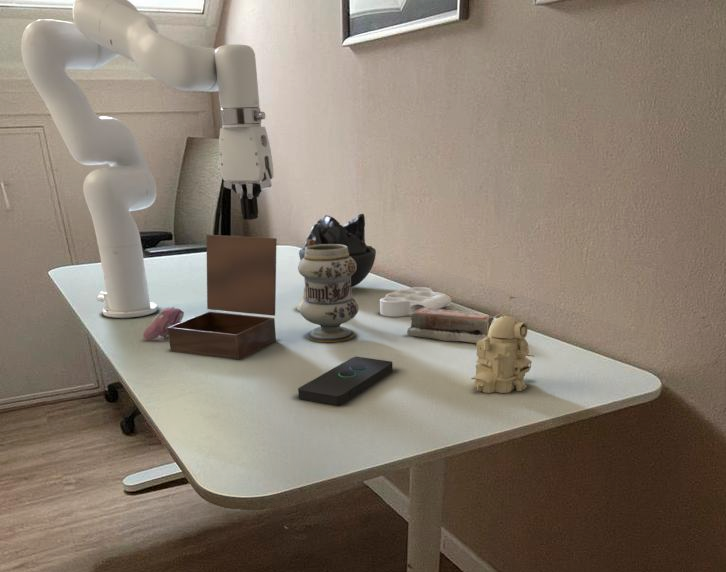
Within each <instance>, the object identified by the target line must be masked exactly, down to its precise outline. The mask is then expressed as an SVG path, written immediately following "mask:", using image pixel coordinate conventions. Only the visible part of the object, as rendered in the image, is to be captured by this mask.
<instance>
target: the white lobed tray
mask: <svg viewBox="0 0 726 572" xmlns="http://www.w3.org/2000/svg"><path fill="white" fill-rule="evenodd" d="M451 304H452V298H451V297H450V296H449V295H448V294H446V293H443V292H441V291H440V292H438V291H433V288H430V287H427V286H413V287H409V288H404V289H397V290H394V291H393V292H389V293H386V294H385V295H384V297H382V298H379V313H380V315H381V316H383V317H389V318H397V317H405V316H406V317H407V316H409V317H411V314H413V313H414V312H415V311H417V310H419V309H421V308H422V307H423V308H435V309H443V308H445V307H447V306H449V305H451Z"/></svg>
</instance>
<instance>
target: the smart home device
mask: <svg viewBox="0 0 726 572" xmlns="http://www.w3.org/2000/svg"><path fill="white" fill-rule="evenodd" d="M393 367H394V366H393V361H390V360H385V359H378V358H377V359H376V358H370V357H364V356H353V357H351V358H349V359H347V360H345V361H343V362H342V363H340V364H338V365H336V366H335V367H333V368H331V369H329V370H328V371H326V372H324V373H322V374H320V375H319V376H317V377H315V378H314V379H311V380H310V381H308V382H307V383H305V384H303V385H301V386H300V387H298V388H297V395H298V399H299V400H305V401H310V402H316V403H322V404H327V405H334V406H341V405H343V404H344V403H346V402H348V401H349V400H350V399H352V398H354V397H356V396H357V395H358V394H360V393H361V392H363V391H365V390H366V389H367V388H369V387H371V386H372V385H374V384H375V383H377V382H378V381H380V380H381V379H383V378H384V377H387V376H388V375H389V374H390V373H392V372H393Z"/></svg>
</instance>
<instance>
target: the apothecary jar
mask: <svg viewBox="0 0 726 572" xmlns="http://www.w3.org/2000/svg"><path fill="white" fill-rule="evenodd" d="M356 269H357V264H356V262H355V260H354V259H353V258H352V257H350V256H349V253H348V247H347V246H345V245H340V244H321V245H313V246H308V247H306V248H305V255H304V258H303V259H302V260H301V261H300V260H299V262H298V265H297V271H298V273H299V274H300V275H301V276H302V277H303V279H304V287H305V301H304V302H303V303H302V304H301V307H300V311H299V312H300V316H301V317H303V319H304V320H306V321H307V322H309V323H311V324H314V325H318V327H316V328H315V327H314V329H311V330H310V331H309V332H307V333H306V338H307V339H308V340H309V341H312V342H318V343H338V342H344V341H347V340H350V339H352V338H353V337H354V336H355V333H354V331H353V330H352V329H350V328H347V327H344V326H341V325H343V324H344V323H347V322H349V321H351V320H352V319H355V317H356V316H357V315H358V313H359V309H360V308H359V303H358V302H357V300H356V299H355V298H353V292H352V291H353V290H352V287H351V276H352V275H353V274H354V273H355V271H356Z"/></svg>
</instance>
